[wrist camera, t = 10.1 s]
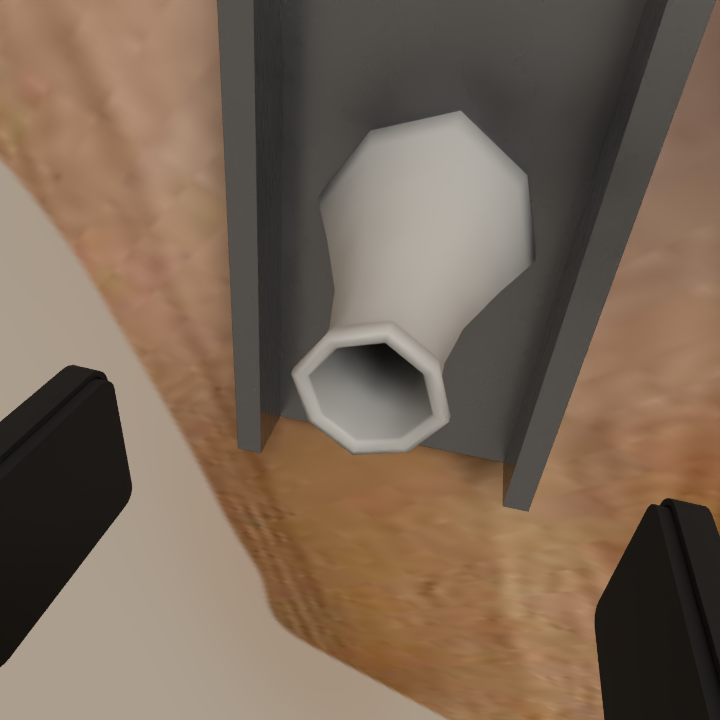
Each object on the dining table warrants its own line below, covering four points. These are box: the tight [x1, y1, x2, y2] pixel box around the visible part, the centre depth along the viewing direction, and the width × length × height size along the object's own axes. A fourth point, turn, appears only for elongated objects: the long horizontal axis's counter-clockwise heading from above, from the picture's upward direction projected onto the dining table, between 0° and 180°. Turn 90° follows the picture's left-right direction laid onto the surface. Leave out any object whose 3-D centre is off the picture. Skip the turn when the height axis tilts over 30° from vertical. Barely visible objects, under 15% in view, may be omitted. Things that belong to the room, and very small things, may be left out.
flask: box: [291, 111, 536, 455], centre depth 16 cm, size 7×7×10 cm
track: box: [217, 0, 716, 511], centre depth 20 cm, size 20×12×4 cm, turn 175°
